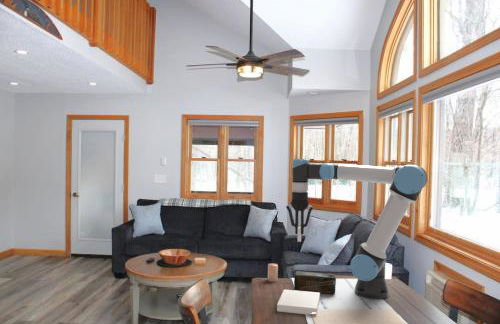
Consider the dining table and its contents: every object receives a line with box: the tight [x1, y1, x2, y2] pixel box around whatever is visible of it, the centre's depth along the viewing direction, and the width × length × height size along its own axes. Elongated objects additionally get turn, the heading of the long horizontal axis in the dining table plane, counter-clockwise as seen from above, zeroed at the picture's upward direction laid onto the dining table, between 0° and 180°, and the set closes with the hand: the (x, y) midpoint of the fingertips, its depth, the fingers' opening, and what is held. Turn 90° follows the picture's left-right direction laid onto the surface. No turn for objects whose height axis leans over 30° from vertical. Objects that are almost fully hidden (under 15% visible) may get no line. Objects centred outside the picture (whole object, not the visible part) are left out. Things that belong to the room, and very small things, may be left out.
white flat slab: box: [276, 288, 321, 315], centre depth 175 cm, size 16×20×3 cm
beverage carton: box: [293, 271, 337, 295], centre depth 194 cm, size 8×19×7 cm
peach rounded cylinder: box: [267, 263, 279, 283], centre depth 210 cm, size 5×5×8 cm
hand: (299, 241), depth 196 cm, fingers closed
